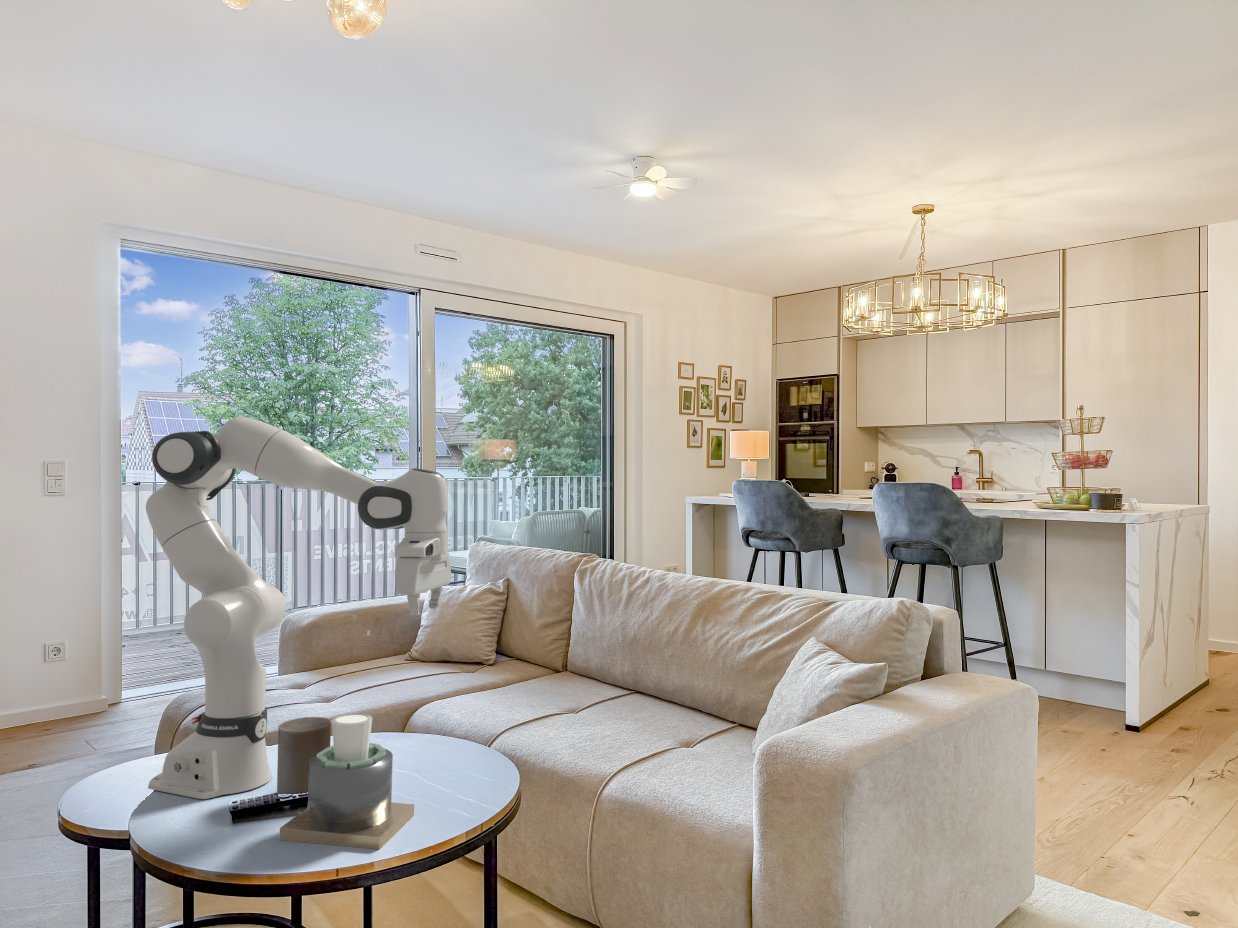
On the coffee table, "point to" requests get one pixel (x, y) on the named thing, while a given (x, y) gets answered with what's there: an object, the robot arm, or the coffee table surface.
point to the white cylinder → (351, 737)
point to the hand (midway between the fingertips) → (425, 611)
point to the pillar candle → (299, 751)
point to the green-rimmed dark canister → (349, 802)
